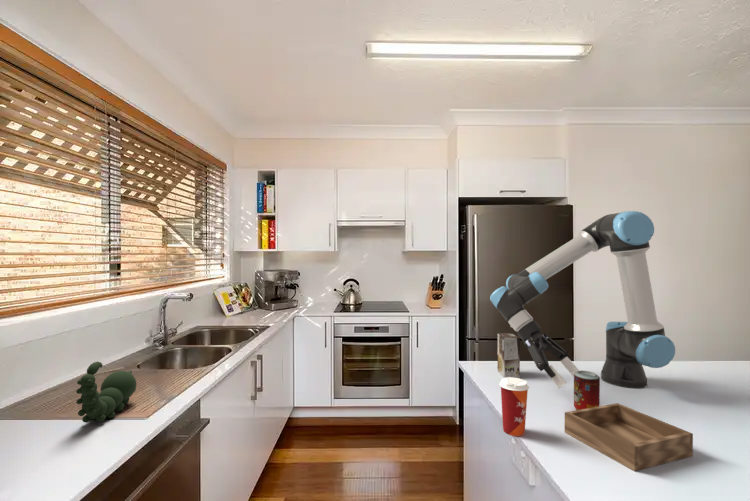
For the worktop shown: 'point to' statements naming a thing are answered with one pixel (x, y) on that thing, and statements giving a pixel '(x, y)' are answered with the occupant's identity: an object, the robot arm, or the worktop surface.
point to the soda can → (586, 390)
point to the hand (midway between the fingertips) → (570, 380)
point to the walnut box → (629, 436)
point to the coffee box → (509, 355)
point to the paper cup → (514, 405)
